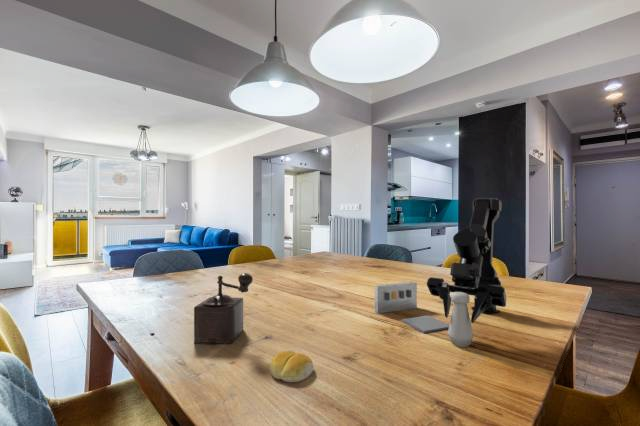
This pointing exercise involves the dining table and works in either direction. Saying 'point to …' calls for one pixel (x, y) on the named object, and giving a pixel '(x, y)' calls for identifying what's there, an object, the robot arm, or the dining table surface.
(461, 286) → the robot arm
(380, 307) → the breaker panel
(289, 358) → the bread roll
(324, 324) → the dining table surface
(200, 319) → the manual coffee grinder
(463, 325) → the salt shaker
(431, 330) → the slate pad
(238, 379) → the dining table surface
